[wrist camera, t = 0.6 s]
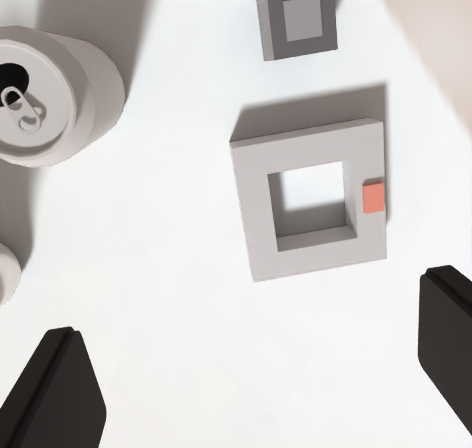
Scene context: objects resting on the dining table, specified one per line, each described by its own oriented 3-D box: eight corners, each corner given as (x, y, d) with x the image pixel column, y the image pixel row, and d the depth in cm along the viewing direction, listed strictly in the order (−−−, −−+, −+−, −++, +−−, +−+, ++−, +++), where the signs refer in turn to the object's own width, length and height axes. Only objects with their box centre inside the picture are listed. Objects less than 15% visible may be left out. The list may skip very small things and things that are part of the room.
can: (87, 17, 30) (18, -11, 19) (146, 107, 33) (116, 128, 22) (7, 73, 31) (-102, 76, 20) (71, 155, 34) (5, 200, 23)
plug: (256, -1, 31) (265, -14, 26) (313, -11, 31) (333, -26, 26) (263, 61, 32) (274, 60, 27) (318, 51, 32) (338, 49, 27)
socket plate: (229, 142, 34) (231, 149, 31) (368, 117, 34) (385, 122, 31) (249, 266, 39) (254, 285, 35) (373, 244, 39) (389, 260, 36)
